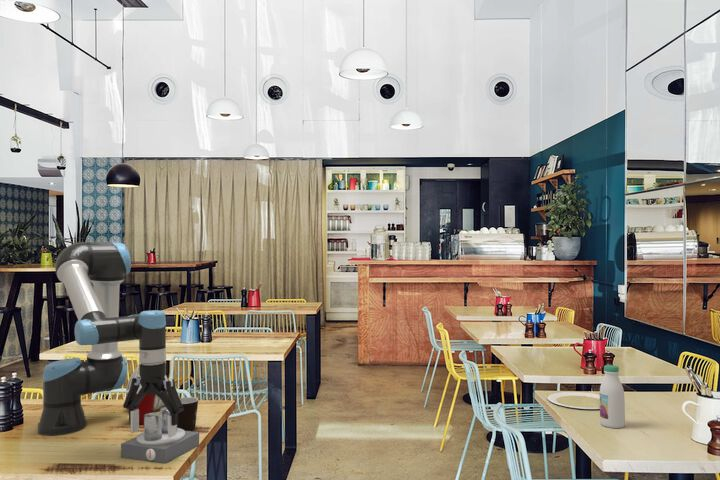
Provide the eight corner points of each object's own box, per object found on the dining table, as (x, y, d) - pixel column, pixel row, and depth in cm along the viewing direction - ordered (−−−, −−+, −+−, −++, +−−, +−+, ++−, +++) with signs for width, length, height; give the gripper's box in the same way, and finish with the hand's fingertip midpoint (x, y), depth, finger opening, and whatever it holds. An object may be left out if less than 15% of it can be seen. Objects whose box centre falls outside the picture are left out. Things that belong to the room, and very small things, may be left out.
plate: (566, 391, 241) (566, 388, 241) (627, 402, 222) (627, 399, 222) (535, 402, 224) (535, 399, 224) (598, 415, 205) (598, 412, 205)
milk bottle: (625, 423, 195) (623, 364, 195) (625, 430, 188) (623, 368, 188) (600, 420, 198) (599, 363, 198) (599, 427, 191) (598, 367, 191)
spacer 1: (140, 440, 169) (140, 416, 169) (152, 434, 174) (151, 411, 174) (154, 441, 167) (154, 417, 167) (165, 436, 172) (165, 413, 172)
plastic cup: (161, 417, 210) (160, 384, 210) (154, 426, 199) (154, 391, 199) (130, 419, 208) (130, 386, 208) (122, 428, 197) (121, 393, 198)
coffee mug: (190, 434, 189) (190, 404, 189) (167, 433, 191) (166, 403, 191) (207, 424, 201) (206, 395, 201) (184, 423, 202) (184, 394, 202)
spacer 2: (156, 432, 176) (156, 410, 176) (167, 428, 180) (166, 405, 180) (170, 434, 174) (170, 411, 174) (180, 429, 179) (180, 406, 179)
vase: (119, 409, 221) (119, 357, 222) (159, 401, 232) (159, 352, 233) (135, 417, 210) (135, 363, 210) (176, 409, 220) (176, 357, 221)
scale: (119, 457, 169) (119, 440, 169) (157, 440, 184) (157, 424, 184) (164, 464, 163) (164, 446, 163) (199, 445, 179) (199, 429, 179)
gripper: (110, 362, 172) (110, 433, 171) (179, 367, 163) (180, 442, 163) (128, 358, 179) (128, 426, 179) (195, 362, 170) (196, 433, 170)
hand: (153, 434), depth 171 cm, fingers open, 13 cm apart
